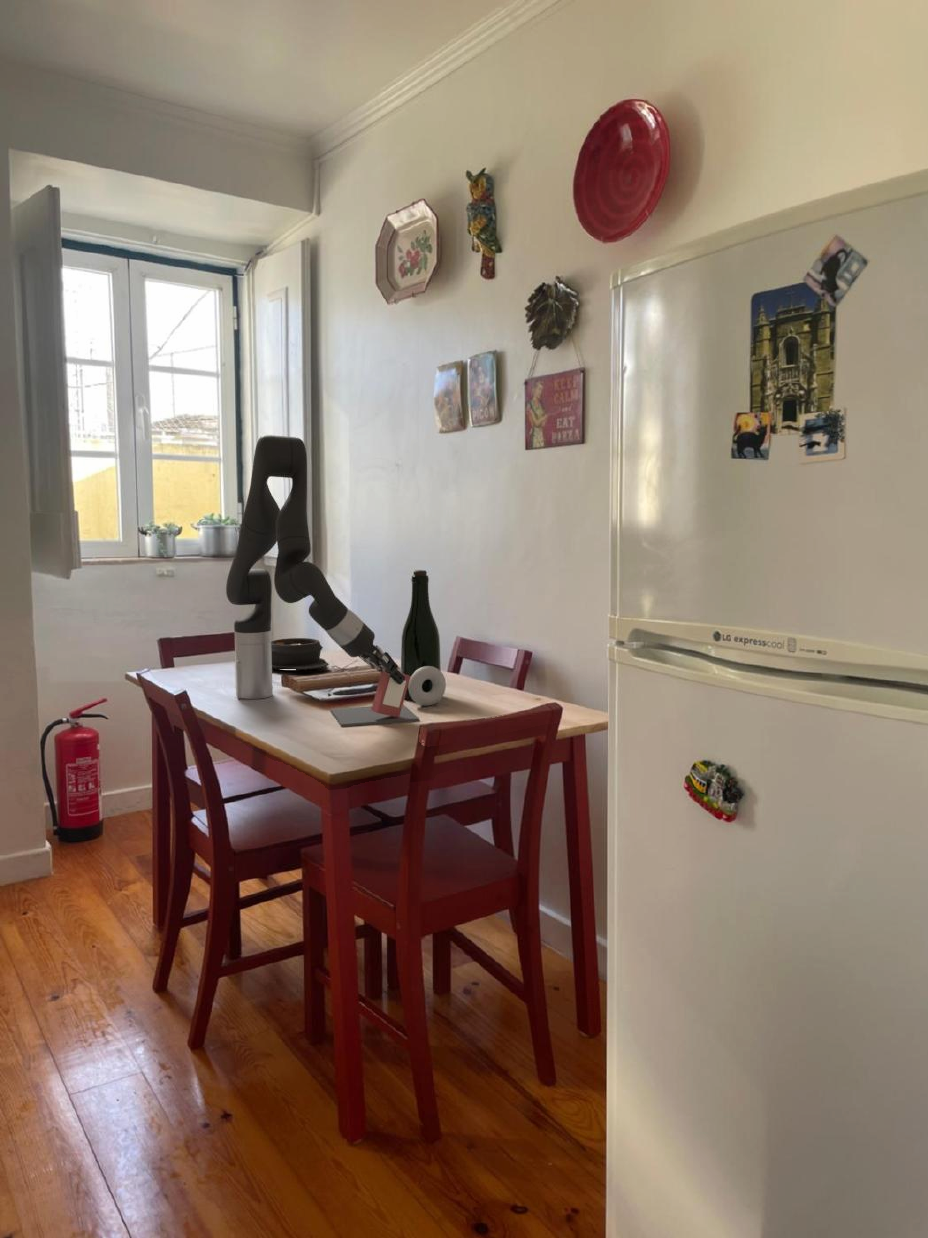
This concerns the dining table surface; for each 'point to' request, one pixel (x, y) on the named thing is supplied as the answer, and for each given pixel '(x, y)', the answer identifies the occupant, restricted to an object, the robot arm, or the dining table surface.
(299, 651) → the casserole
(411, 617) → the dark green wine bottle
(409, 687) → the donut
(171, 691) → the dining table surface
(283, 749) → the dining table surface
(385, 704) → the card box
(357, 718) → the mat
